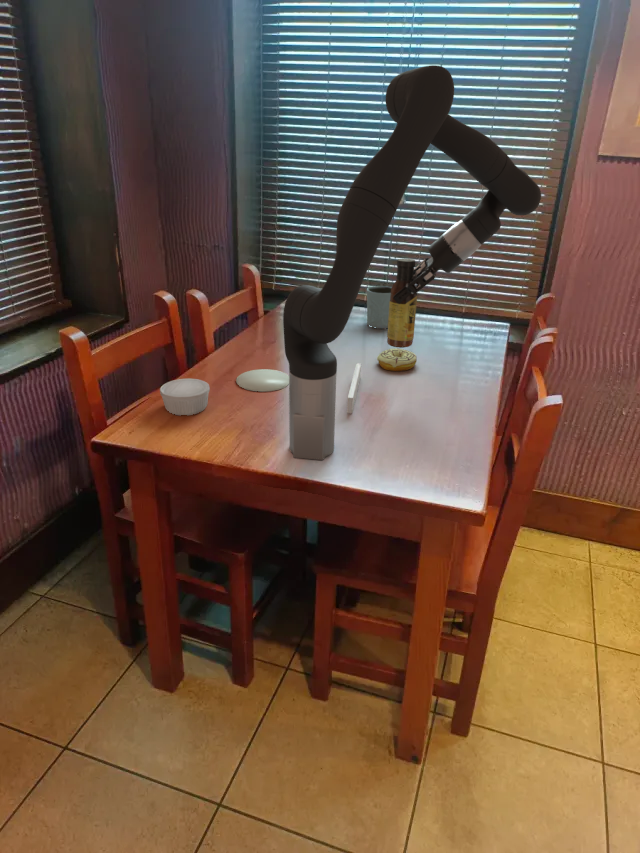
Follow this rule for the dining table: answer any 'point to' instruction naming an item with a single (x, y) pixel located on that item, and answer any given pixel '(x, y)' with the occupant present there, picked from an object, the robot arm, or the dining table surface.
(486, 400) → the dining table surface
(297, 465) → the dining table surface
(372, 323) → the grey tapered cup
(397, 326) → the sauce bottle
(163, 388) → the ramekin
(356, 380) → the frosted wall
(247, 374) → the sage pad
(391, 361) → the decorated donut
